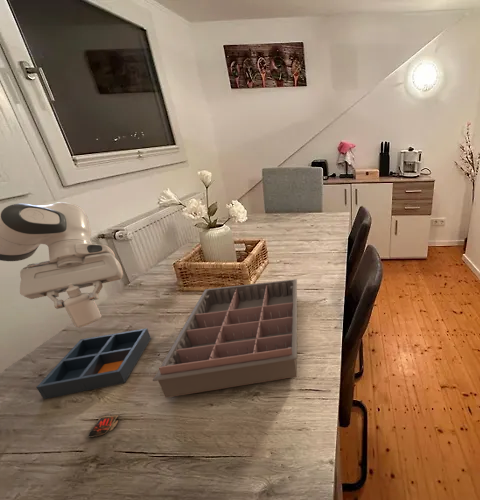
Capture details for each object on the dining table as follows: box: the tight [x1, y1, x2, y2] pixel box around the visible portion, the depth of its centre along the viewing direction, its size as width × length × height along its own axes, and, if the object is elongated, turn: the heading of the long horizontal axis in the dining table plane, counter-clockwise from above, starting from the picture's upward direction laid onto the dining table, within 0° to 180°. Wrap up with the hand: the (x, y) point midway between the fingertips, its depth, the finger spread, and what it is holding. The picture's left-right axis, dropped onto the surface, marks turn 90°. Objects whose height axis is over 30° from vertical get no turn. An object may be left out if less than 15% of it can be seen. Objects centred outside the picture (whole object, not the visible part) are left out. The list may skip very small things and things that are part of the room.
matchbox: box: [87, 414, 119, 438], centre depth 61 cm, size 5×5×1 cm
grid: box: [36, 327, 152, 400], centre depth 77 cm, size 17×17×4 cm
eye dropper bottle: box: [63, 283, 102, 329], centre depth 75 cm, size 4×6×12 cm
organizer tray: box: [152, 278, 298, 399], centre depth 84 cm, size 32×40×10 cm
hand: (77, 303), depth 73 cm, fingers closed on eye dropper bottle, 5 cm apart
